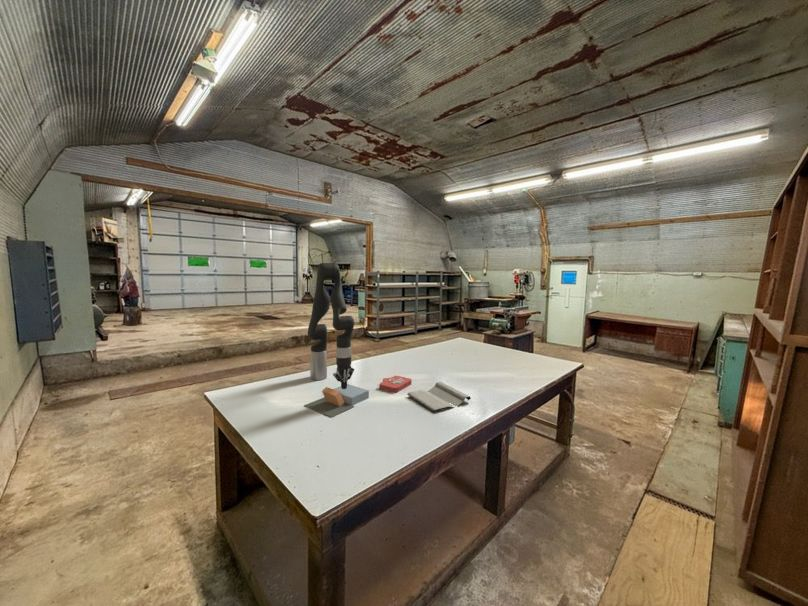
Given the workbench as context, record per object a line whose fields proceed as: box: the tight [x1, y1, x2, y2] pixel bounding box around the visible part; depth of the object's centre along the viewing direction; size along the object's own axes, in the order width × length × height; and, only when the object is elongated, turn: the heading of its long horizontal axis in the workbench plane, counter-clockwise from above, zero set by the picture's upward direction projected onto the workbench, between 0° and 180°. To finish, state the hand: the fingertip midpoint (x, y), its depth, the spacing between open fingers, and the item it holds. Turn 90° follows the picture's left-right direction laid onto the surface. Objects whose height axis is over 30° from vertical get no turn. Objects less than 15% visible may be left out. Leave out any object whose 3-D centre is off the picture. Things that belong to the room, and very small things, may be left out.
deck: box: [333, 383, 370, 406], centre depth 163 cm, size 16×12×4 cm
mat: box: [406, 381, 471, 413], centre depth 162 cm, size 23×24×5 cm
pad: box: [303, 396, 355, 418], centre depth 153 cm, size 20×14×1 cm
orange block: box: [321, 386, 344, 407], centre depth 154 cm, size 10×7×3 cm
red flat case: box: [379, 375, 412, 394], centre depth 182 cm, size 18×4×15 cm
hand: (344, 388), depth 160 cm, fingers closed
